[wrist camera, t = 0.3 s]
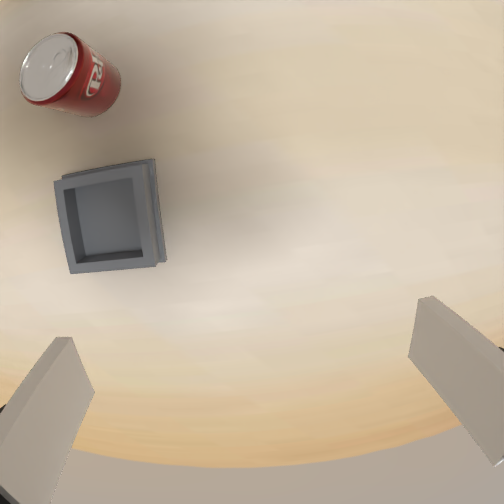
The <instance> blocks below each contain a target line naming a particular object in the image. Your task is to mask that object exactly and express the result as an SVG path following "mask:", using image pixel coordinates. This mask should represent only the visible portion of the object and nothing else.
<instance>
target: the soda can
mask: <svg viewBox="0 0 504 504" xmlns="http://www.w3.org/2000/svg"><path fill="white" fill-rule="evenodd" d="M19 82H20V89H21V93H22V95H23V96H24V98H25V99H26V100H27V101H28V102H29V103H31V104H33V105H37V106H42V107H46V108H50V109H55V110H59V111H63V112H67V113H71V114H75V115H79V116H83V117H93V116H97V115H99V114H101V113H103V112H104V111H106V110H107V109H108V108H109V107H110V106H111V105H112V104H113V103H114V102H115V100H116V98H117V96H118V94H119V91H120V86H121V78H120V74H119V72H118V70H117V68H116V67H115V66H114V65H113V64H111V63H110V62H109V61H108V60H106V59H105V58H104V57H103V56H101V55H100V54H99V53H98V52H96V51H95V50H94V49H92V48H91V47H90V46H89V45H87V44H86V43H85V42H83V41H82V40H81V39H79V38H78V37H77V36H75V35H74V34H72V33H69V32H59V33H55V34H52V35H49V36H47V37H46V38H44V39H42V40H41V41H40V42H38V43H37V44H36V45H35V46H34V47H33V48H32V49H31V50H30V52H29V53H28V54H27V56H26V58H25V60H24V62H23V64H22V67H21V71H20V77H19Z"/></svg>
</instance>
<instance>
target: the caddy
mask: <svg viewBox="0 0 504 504" xmlns="http://www.w3.org/2000/svg"><path fill="white" fill-rule="evenodd" d="M54 189H55V196H56V203H57V210H58V216H59V222H60V228H61V233H62V238H63V243H64V248H65V253H66V257H67V262H68V266H69V270H70V274H78V273H89V272H101V271H112V270H123V269H134V268H145V267H156V265H157V264H158V262H166V260H167V256H166V249H165V243H164V236H163V229H162V221H161V213H160V205H159V197H158V188H157V179H156V169H155V159H149V160H142V161H136V162H130V163H124V164H118V165H112V166H107V167H102V168H96V169H91V170H86V171H82V172H77V173H72V174H68V175H63V176H62V179H61V180H57V181H54Z"/></svg>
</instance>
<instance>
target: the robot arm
mask: <svg viewBox="0 0 504 504" xmlns="http://www.w3.org/2000/svg"><path fill="white" fill-rule="evenodd" d="M408 358H409V359H410V360H411V361H412V362H413V363H414V365H415V366H416V367H417V368H418V370H419V371H420V372H421V373H422V374H423V376H424V377H425V378H426V379H427V380H428V382H429V383H430V384H431V385H432V387H433V388H434V389H435V390H436V392H437V393H438V394H439V395H440V397H441V398H442V399H443V400H444V402H445V403H446V404H447V405H448V407H449V408H450V409H451V410H452V412H453V413H454V414H455V416H456V417H457V418H458V419H459V421H460V422H461V423H462V425H463V426H464V427H465V429H466V430H467V431H468V432H469V434H470V435H471V436H472V438H473V439H474V440H475V442H476V443H477V444H478V446H479V447H480V448H481V450H482V451H483V453H484V454H485V455H486V457H487V458H488V459H489V461H490V462H491V463H492V465H493V466H494V467H495V466H497V465H498V464H499V463H501V462H502V461H504V349H503V348H501V347H497V346H496V345H495V344H494V343H492V342H491V341H490V340H489V339H488V338H486V337H485V336H484V335H483V334H482V333H480V332H479V331H478V330H477V329H475V328H474V327H473V326H472V325H470V324H469V323H468V322H467V321H465V320H464V319H463V318H462V317H460V316H459V315H458V314H456V313H455V312H454V311H453V310H451V309H450V308H449V307H447V306H446V305H445V304H444V303H442V302H441V301H440V300H438V299H437V298H436V297H434V296H430V297H425V298H421V299H418V305H417V311H416V318H415V323H414V329H413V334H412V340H411V345H410V349H409V354H408ZM94 393H95V391H94V389H93V387H92V385H91V383H90V380H89V378H88V376H87V374H86V371H85V369H84V367H83V364H82V362H81V359H80V357H79V354H78V352H77V349H76V347H75V344H74V342H73V339H72V337H56V338H55V339H54V340H53V342H52V343H51V344H50V345H49V347H48V348H47V349H46V351H45V352H44V353H43V355H42V356H41V357H40V358H39V360H38V361H37V362H36V364H35V365H34V366H33V368H32V369H31V370H30V372H29V373H28V375H27V376H26V377H25V379H24V380H23V381H22V383H21V384H20V386H19V387H18V388H17V390H16V391H15V393H14V394H13V396H12V397H11V399H10V400H9V401H8V403H7V404H5V405H4V406H3V407H1V408H0V504H50V503H51V500H52V497H53V495H54V492H55V489H56V486H57V483H58V480H59V477H60V475H61V472H62V470H63V467H64V465H65V462H66V459H67V457H68V454H69V452H70V449H71V447H72V444H73V442H74V439H75V437H76V435H77V432H78V430H79V427H80V425H81V423H82V420H83V418H84V416H85V414H86V411H87V409H88V407H89V404H90V402H91V400H92V398H93V396H94Z"/></svg>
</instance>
